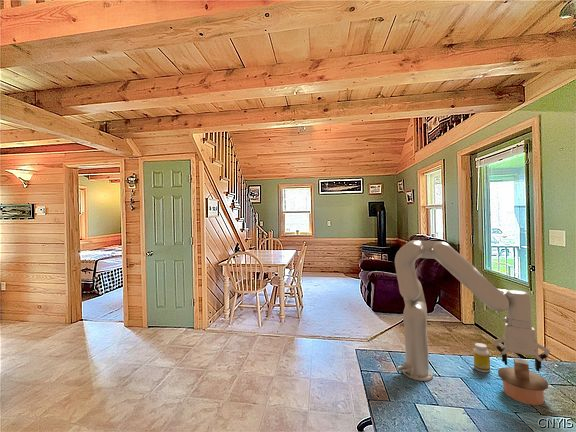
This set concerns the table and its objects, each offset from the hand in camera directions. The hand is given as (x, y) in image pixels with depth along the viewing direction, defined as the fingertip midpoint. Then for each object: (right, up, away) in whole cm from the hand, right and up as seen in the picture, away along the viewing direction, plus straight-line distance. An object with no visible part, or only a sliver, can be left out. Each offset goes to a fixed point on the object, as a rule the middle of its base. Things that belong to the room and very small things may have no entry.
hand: (521, 366), depth 110 cm
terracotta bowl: (0, -11, -1) cm, 11 cm away
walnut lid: (0, -5, 0) cm, 5 cm away
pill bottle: (-2, -12, +19) cm, 23 cm away
